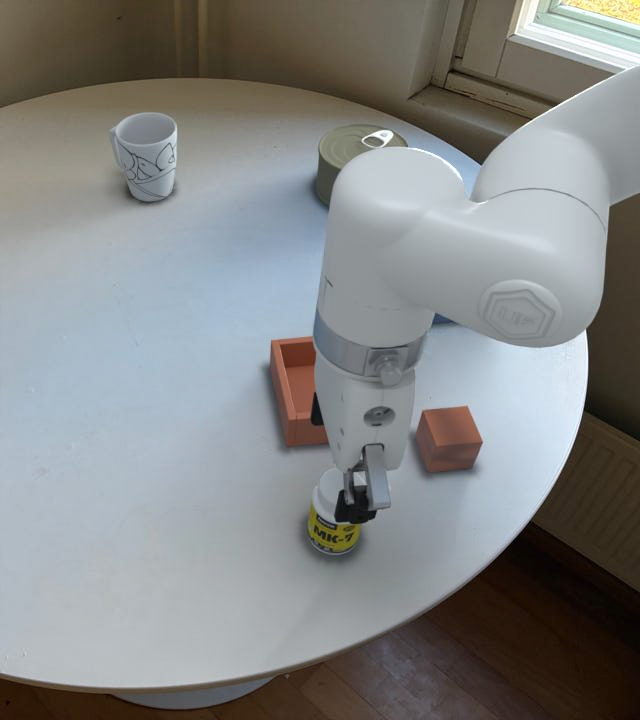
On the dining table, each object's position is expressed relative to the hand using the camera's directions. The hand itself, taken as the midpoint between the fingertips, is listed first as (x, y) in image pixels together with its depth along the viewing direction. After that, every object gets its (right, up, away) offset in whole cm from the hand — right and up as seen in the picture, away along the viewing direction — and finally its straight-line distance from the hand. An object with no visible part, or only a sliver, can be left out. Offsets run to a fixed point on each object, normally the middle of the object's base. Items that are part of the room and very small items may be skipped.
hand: (340, 467), depth 65 cm
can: (+13, +33, +44) cm, 56 cm away
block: (+14, 0, +13) cm, 19 cm away
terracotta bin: (+3, +5, +19) cm, 20 cm away
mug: (-17, +35, +48) cm, 62 cm away
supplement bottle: (+1, -8, +8) cm, 11 cm away
